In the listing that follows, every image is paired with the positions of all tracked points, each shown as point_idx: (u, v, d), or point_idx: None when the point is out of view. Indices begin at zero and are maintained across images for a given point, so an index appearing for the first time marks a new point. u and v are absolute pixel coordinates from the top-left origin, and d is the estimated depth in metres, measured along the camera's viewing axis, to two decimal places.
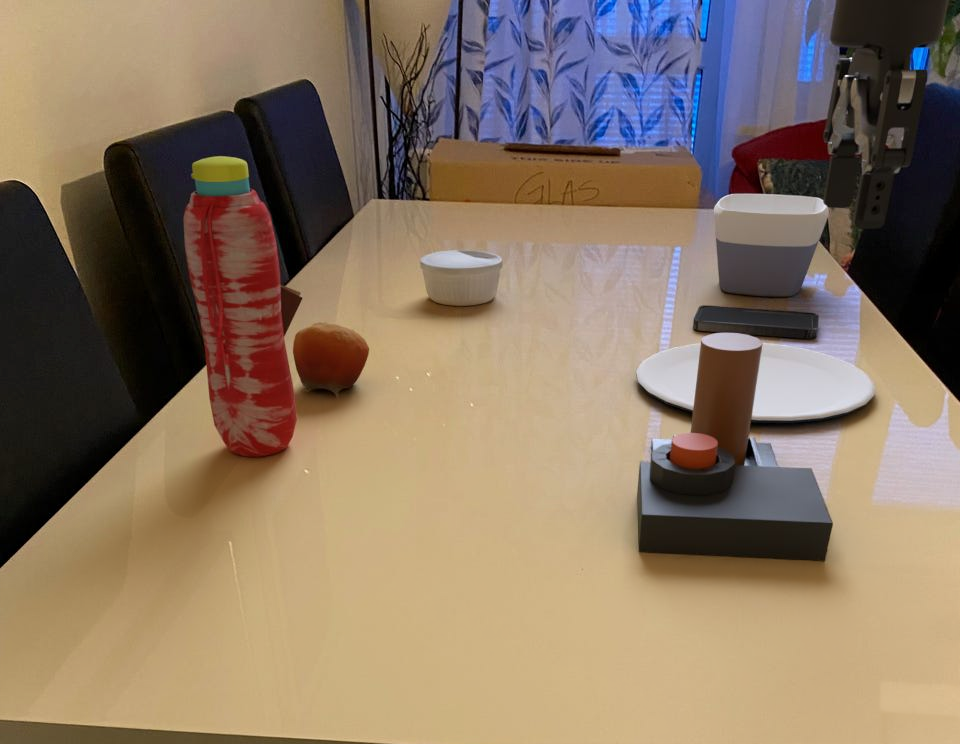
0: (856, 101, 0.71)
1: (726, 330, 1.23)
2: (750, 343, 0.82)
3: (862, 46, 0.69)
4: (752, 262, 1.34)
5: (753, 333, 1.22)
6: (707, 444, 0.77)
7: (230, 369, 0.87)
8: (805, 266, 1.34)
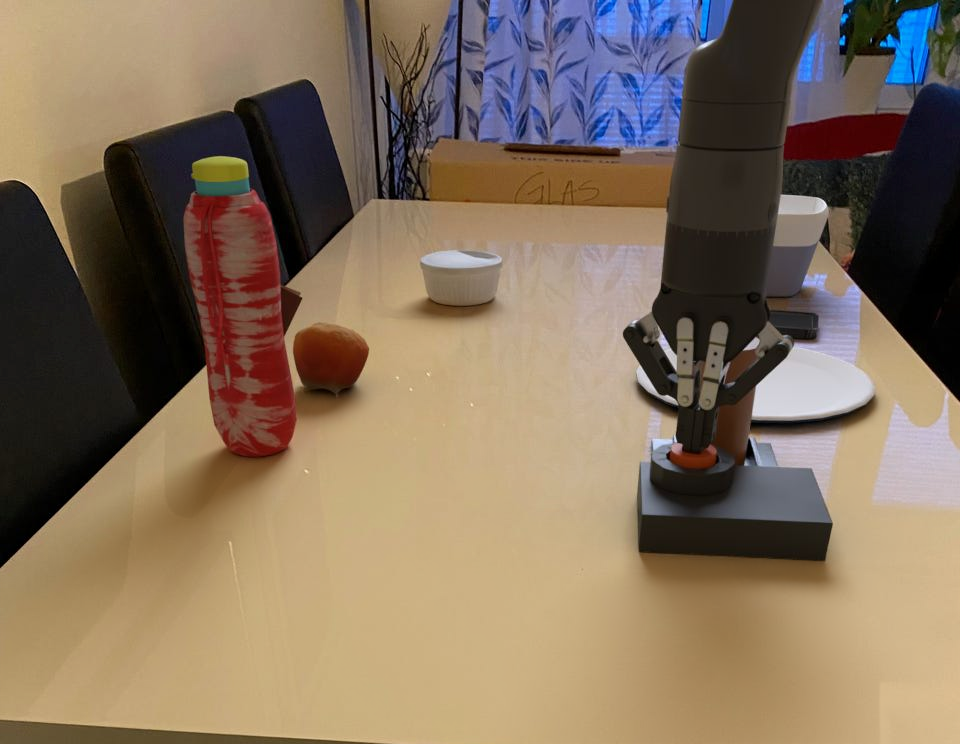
0: (718, 345, 0.71)
1: None
2: (750, 343, 0.82)
3: (743, 295, 0.69)
4: None
5: None
6: (706, 452, 0.78)
7: (230, 369, 0.87)
8: (805, 266, 1.34)
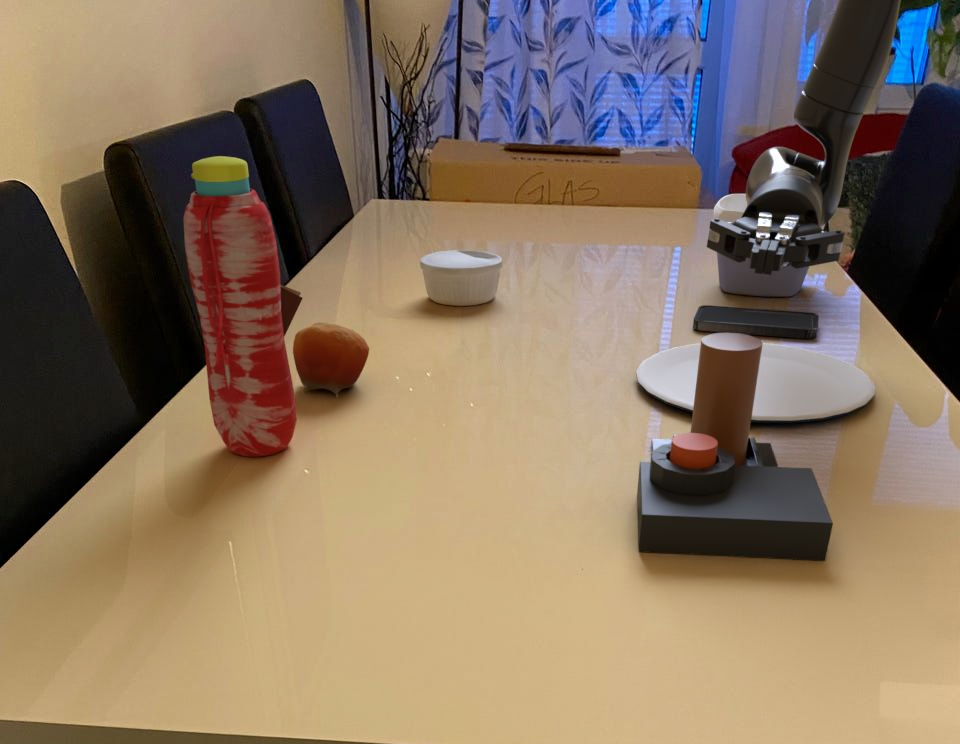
0: None
1: (726, 330, 1.23)
2: (750, 343, 0.82)
3: None
4: None
5: (753, 333, 1.22)
6: (707, 444, 0.77)
7: (230, 369, 0.87)
8: None
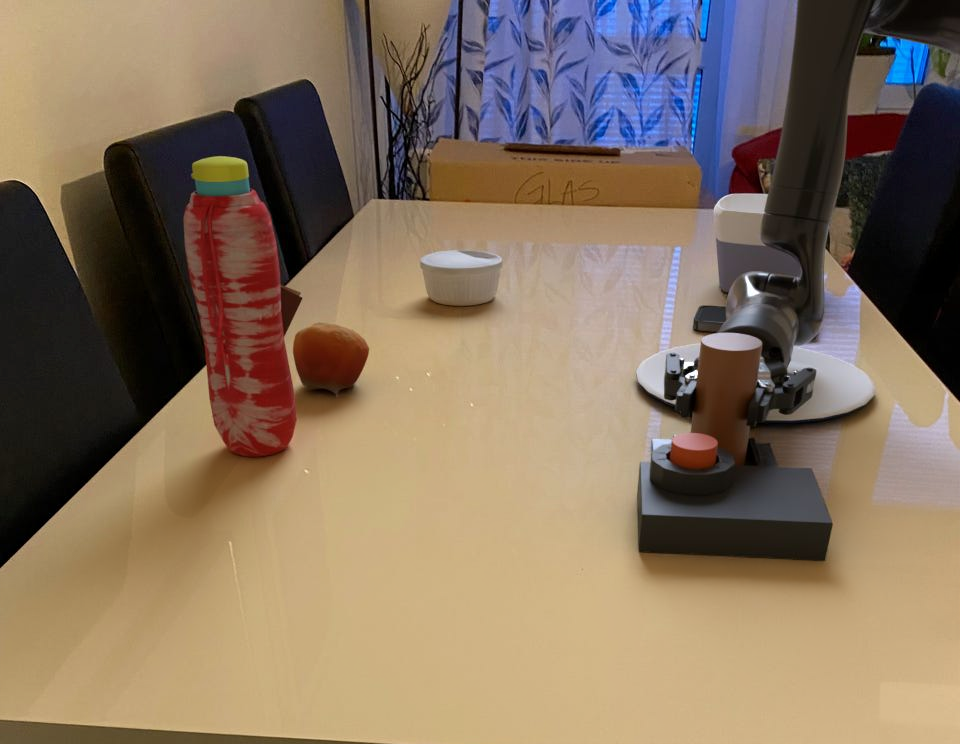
0: None
1: None
2: (750, 343, 0.82)
3: None
4: (752, 262, 1.34)
5: None
6: (707, 444, 0.77)
7: (230, 369, 0.87)
8: None
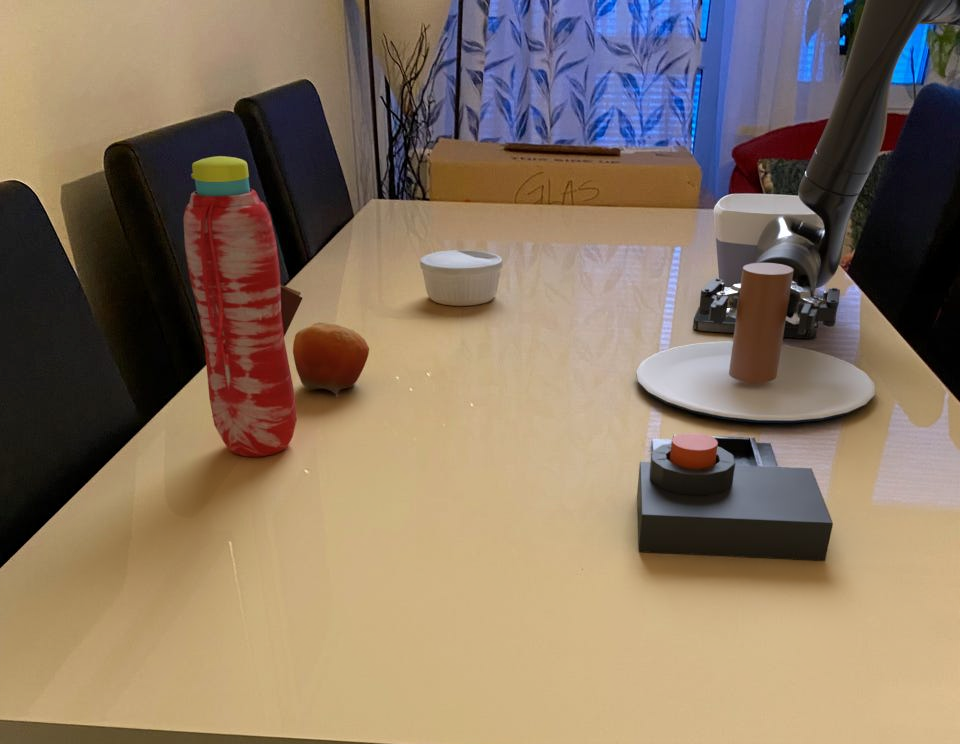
0: None
1: (726, 330, 1.22)
2: (784, 269, 0.99)
3: None
4: (752, 262, 1.34)
5: None
6: (707, 444, 0.77)
7: (230, 369, 0.87)
8: None
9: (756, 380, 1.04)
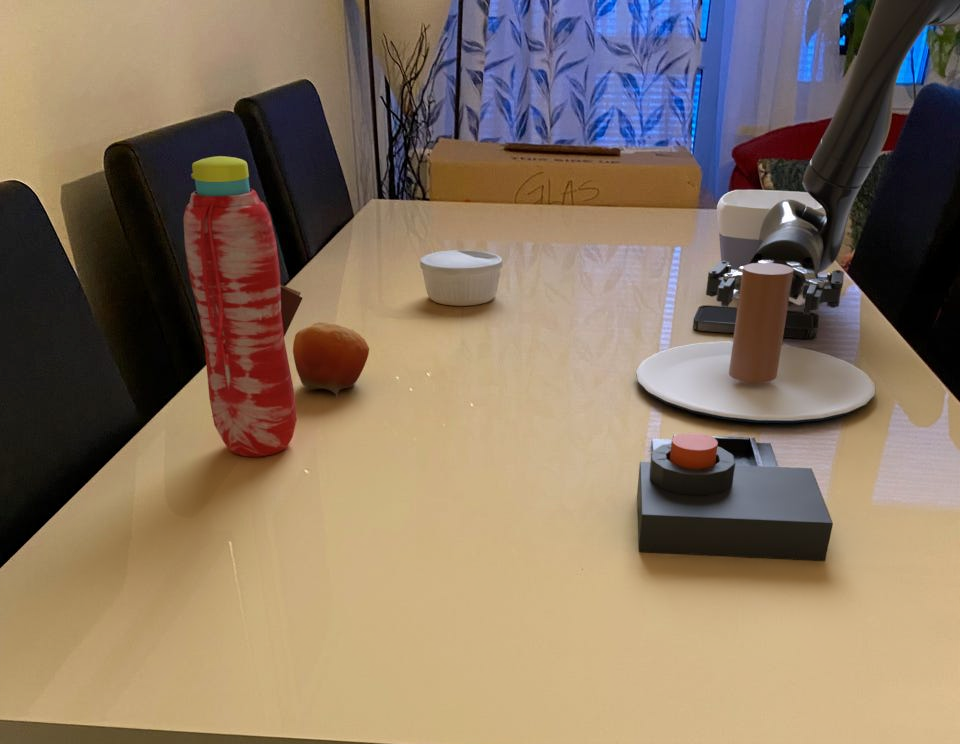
0: None
1: (726, 330, 1.23)
2: (784, 269, 0.99)
3: None
4: None
5: None
6: (707, 444, 0.77)
7: (230, 369, 0.87)
8: None
9: (756, 380, 1.04)
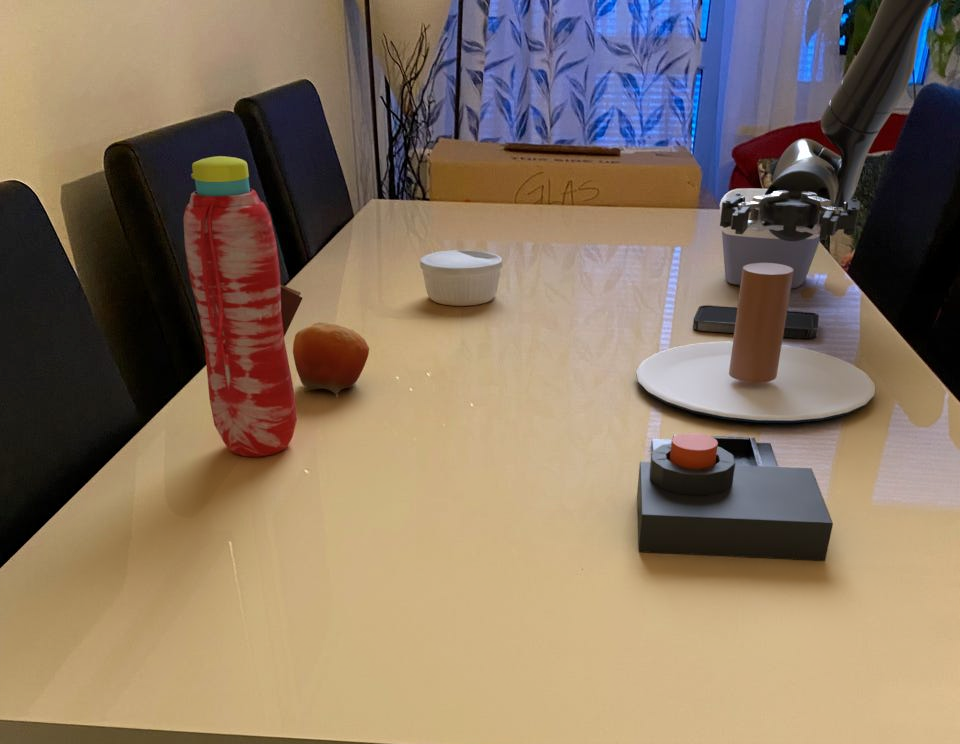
0: None
1: (726, 330, 1.23)
2: (784, 269, 0.99)
3: None
4: (757, 254, 1.37)
5: None
6: (707, 444, 0.77)
7: (230, 369, 0.87)
8: (809, 258, 1.38)
9: (756, 380, 1.04)
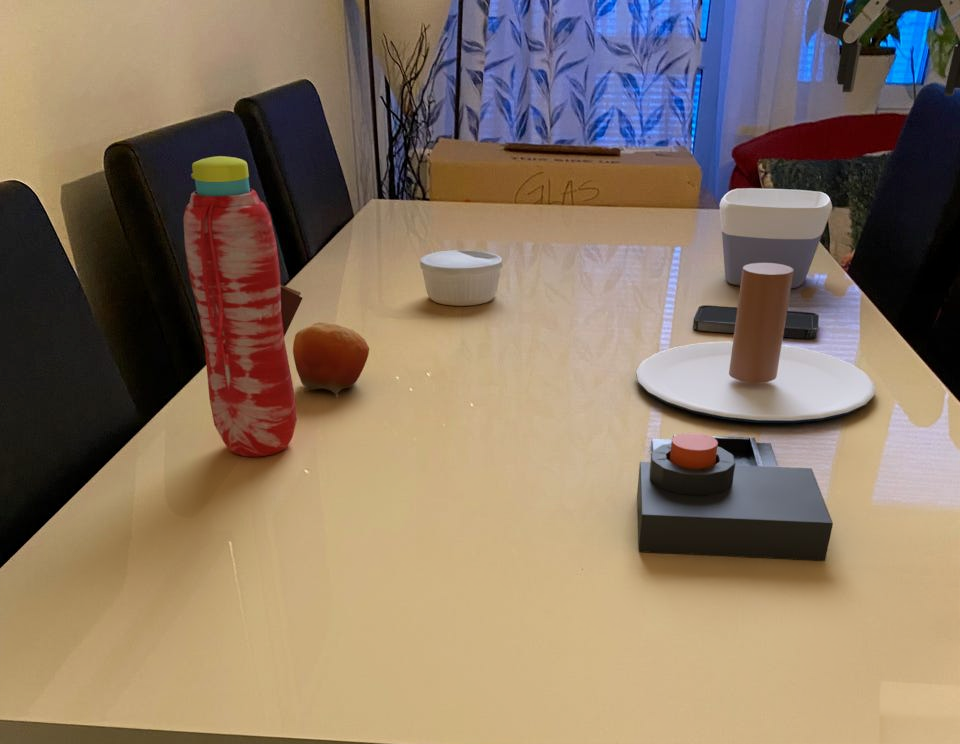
0: None
1: (726, 330, 1.23)
2: (784, 269, 0.99)
3: None
4: (757, 255, 1.37)
5: None
6: (707, 444, 0.77)
7: (230, 369, 0.87)
8: (809, 258, 1.38)
9: (756, 380, 1.04)
